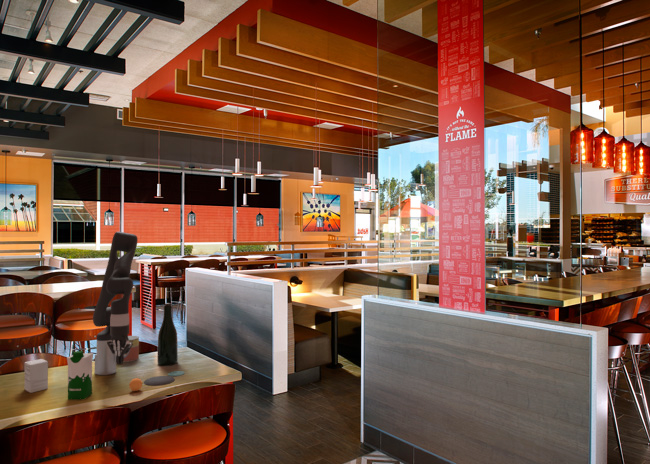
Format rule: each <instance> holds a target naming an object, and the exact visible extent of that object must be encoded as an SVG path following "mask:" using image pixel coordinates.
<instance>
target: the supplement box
mask: <svg viewBox="0 0 650 464" xmlns="http://www.w3.org/2000/svg"><path fill="white" fill-rule="evenodd" d="M48 367H49V362H48V360H45V359H43V358H40V359H39V358H38V359H34V360H28V361H25V362H24V391H26V392H28V393H30V394H31V393H36V392H39V391H43V390H48V389H49V368H48Z"/></svg>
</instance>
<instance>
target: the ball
mask: <svg viewBox="0 0 650 464" xmlns="http://www.w3.org/2000/svg"><path fill="white" fill-rule="evenodd" d="M128 386H129V389H130V390H131V391H133V392H138V391H140V390H141V389H142V387H143V381H142V379H140V378H136V377H135V378H132V379H131V380H130V382H129V383H128Z"/></svg>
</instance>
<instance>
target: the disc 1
mask: <svg viewBox="0 0 650 464" xmlns="http://www.w3.org/2000/svg"><path fill="white" fill-rule="evenodd" d="M175 379H176V378H175V376H169V375H158V376H152V377H149V378H146V379H145V380H144V381H143V384H144V385H146V386H151V387H153V386H154V387H156V386H164V385H168V384H171V383H173V382H174V381H175Z"/></svg>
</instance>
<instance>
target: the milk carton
mask: <svg viewBox="0 0 650 464" xmlns="http://www.w3.org/2000/svg"><path fill="white" fill-rule="evenodd" d="M93 359H94V353H93V352H91V353H87V352H86V353H84V350H77V351H73V352H72V355H70V356H68V357H66V361H67V400H85V399H87V398H89V396H91V395H92V394H93Z"/></svg>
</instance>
